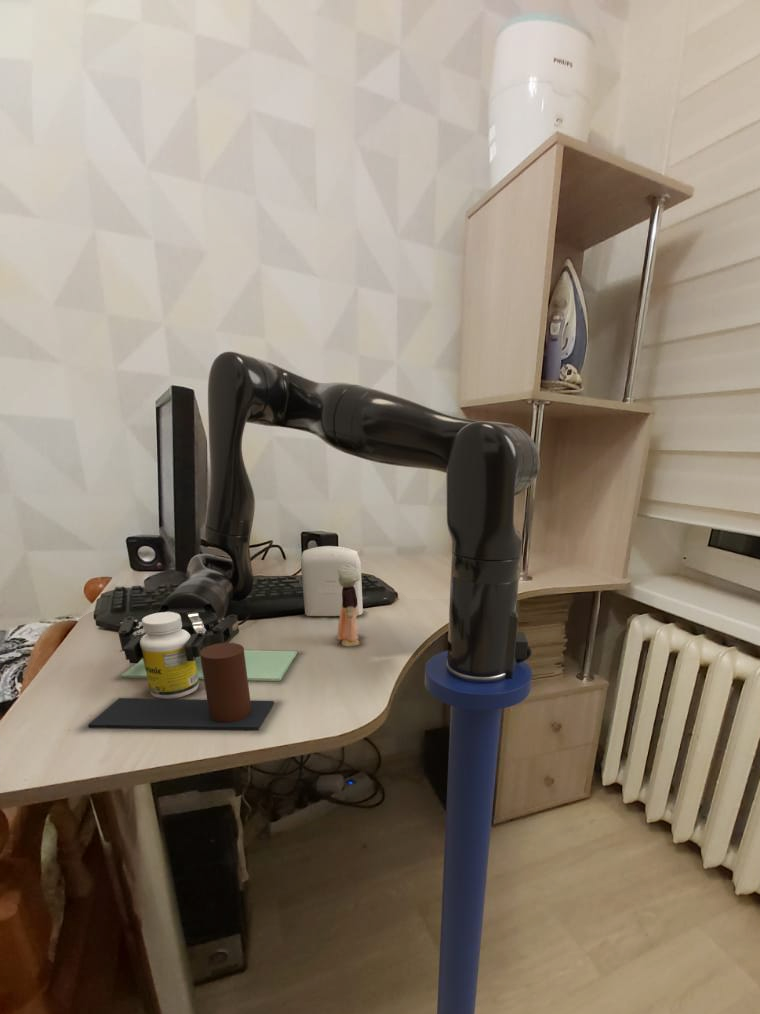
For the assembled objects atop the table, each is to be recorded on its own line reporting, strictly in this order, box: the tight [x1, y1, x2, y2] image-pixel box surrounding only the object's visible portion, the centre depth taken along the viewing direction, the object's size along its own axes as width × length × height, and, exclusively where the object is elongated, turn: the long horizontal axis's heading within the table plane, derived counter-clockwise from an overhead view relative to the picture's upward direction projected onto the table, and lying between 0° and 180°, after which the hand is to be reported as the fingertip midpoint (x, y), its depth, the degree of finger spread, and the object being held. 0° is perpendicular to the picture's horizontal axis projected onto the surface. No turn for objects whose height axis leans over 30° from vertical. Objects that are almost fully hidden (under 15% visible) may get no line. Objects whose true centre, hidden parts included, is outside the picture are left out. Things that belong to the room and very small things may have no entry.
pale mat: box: [121, 649, 298, 682], centre depth 72 cm, size 20×9×1 cm, turn 94°
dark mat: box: [87, 697, 275, 731], centre depth 60 cm, size 18×6×1 cm, turn 94°
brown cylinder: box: [200, 642, 251, 723], centre depth 59 cm, size 4×4×8 cm
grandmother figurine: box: [337, 564, 362, 647], centre depth 80 cm, size 8×4×13 cm, turn 23°
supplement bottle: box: [140, 612, 200, 699], centre depth 63 cm, size 5×5×10 cm
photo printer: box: [300, 545, 364, 617], centre depth 91 cm, size 10×4×12 cm, turn 99°
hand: (161, 654), depth 60 cm, fingers closed on supplement bottle, 5 cm apart
